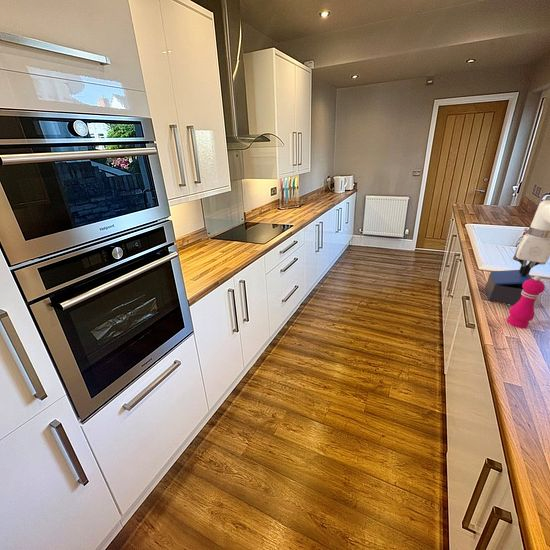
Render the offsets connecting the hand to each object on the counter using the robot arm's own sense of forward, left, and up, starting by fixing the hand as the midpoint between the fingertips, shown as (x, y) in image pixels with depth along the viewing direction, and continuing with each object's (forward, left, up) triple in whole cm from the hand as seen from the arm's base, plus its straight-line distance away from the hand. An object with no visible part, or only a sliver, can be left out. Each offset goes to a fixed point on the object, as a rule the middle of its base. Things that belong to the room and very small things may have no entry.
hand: (522, 274), depth 122 cm
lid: (+4, 0, -2) cm, 4 cm away
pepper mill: (+2, +22, -12) cm, 25 cm away
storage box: (+4, 0, -12) cm, 12 cm away
